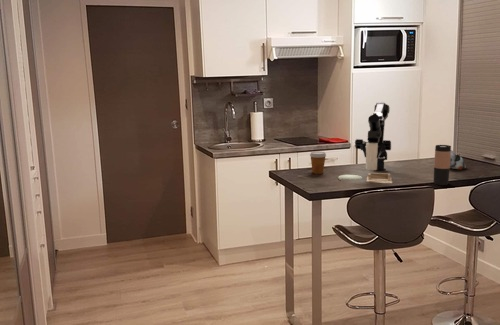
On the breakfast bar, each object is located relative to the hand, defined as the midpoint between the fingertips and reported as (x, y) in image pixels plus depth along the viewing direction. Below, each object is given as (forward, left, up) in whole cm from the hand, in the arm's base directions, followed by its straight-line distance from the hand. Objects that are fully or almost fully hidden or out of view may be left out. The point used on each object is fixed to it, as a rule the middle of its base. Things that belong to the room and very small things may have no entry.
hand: (371, 157), depth 252 cm
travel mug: (+18, +31, -14) cm, 38 cm away
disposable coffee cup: (-32, -15, -14) cm, 38 cm away
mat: (-10, -6, -13) cm, 18 cm away
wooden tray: (+2, +4, -13) cm, 14 cm away
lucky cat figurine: (-12, +66, -14) cm, 68 cm away
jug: (0, 0, -7) cm, 7 cm away
